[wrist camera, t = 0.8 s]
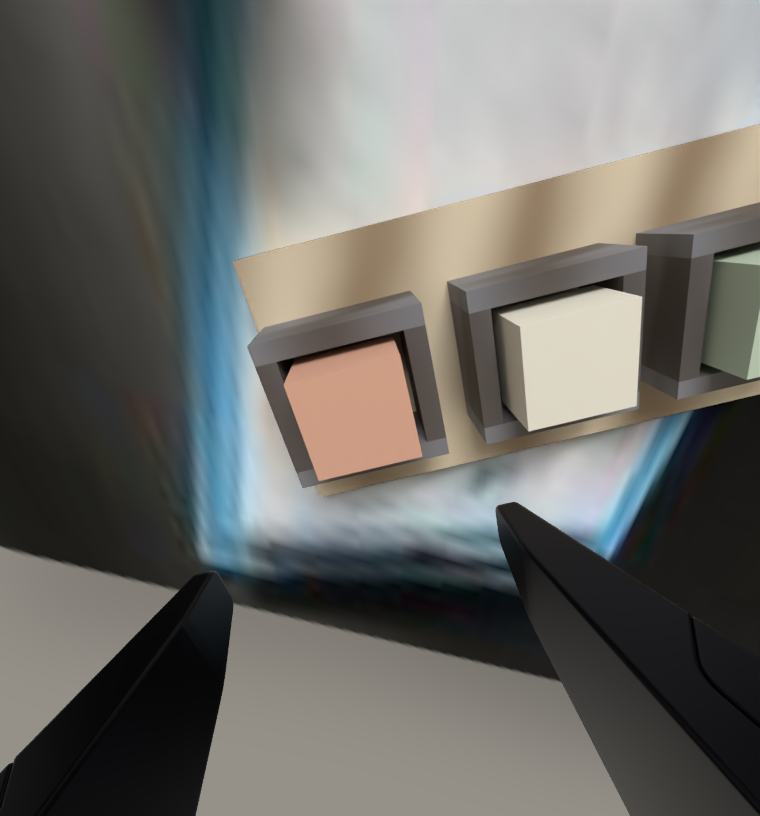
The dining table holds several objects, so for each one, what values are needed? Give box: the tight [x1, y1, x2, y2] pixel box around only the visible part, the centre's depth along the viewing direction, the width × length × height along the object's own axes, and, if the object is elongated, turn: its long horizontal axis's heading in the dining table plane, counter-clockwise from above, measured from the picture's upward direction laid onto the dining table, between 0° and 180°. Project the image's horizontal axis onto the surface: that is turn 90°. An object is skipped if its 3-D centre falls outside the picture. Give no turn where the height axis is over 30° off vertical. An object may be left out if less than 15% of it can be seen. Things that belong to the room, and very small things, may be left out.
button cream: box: [492, 285, 642, 432], centre depth 15 cm, size 4×4×3 cm
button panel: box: [232, 124, 760, 497], centre depth 17 cm, size 23×12×4 cm, turn 103°
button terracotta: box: [284, 335, 423, 481], centre depth 15 cm, size 4×4×3 cm
